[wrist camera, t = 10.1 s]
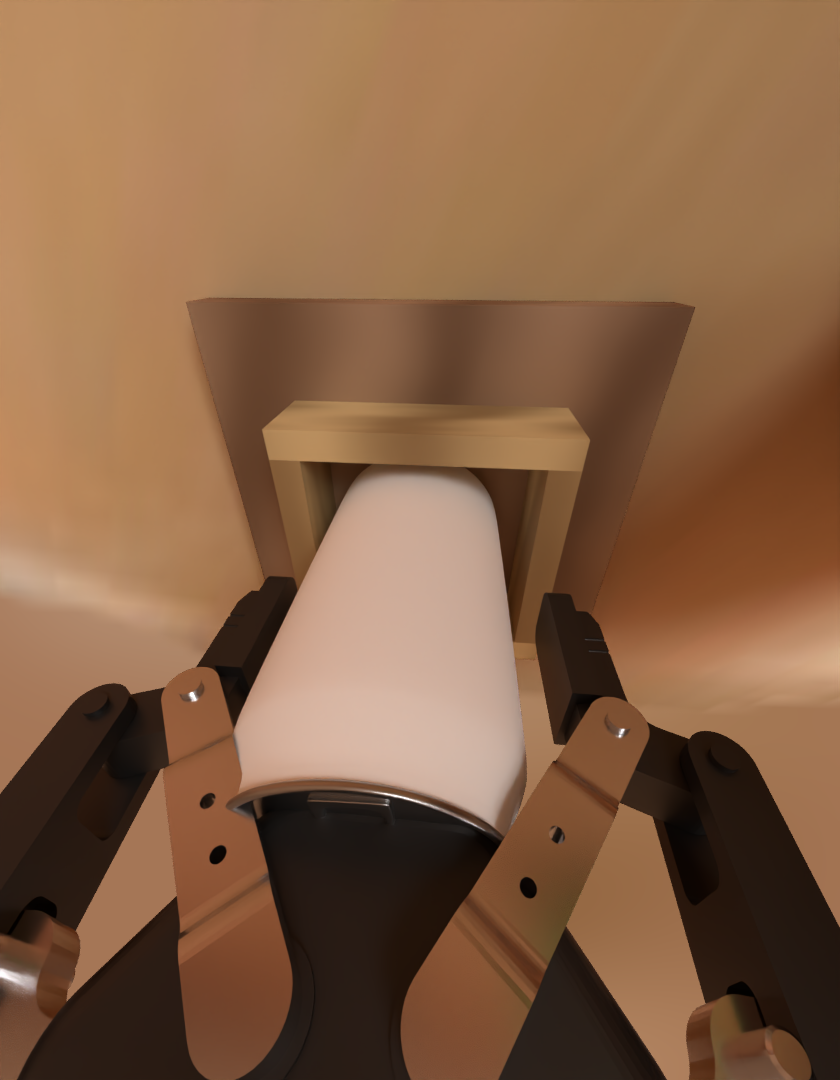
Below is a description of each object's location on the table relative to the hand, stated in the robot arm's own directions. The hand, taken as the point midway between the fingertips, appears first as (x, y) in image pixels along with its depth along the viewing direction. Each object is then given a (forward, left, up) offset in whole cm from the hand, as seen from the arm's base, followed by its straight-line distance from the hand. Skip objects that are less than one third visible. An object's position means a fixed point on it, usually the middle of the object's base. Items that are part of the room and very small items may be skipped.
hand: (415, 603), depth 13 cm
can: (0, 0, -5) cm, 5 cm away
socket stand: (0, 0, -7) cm, 7 cm away
